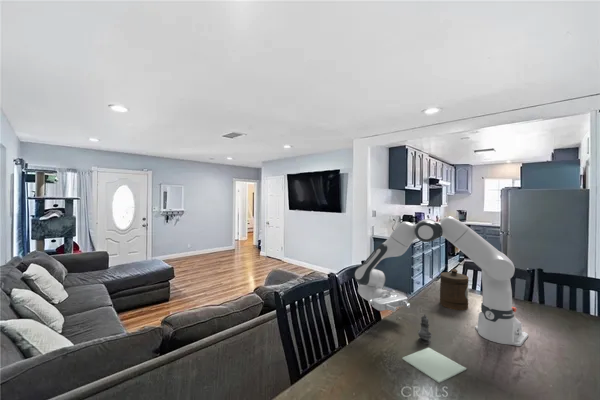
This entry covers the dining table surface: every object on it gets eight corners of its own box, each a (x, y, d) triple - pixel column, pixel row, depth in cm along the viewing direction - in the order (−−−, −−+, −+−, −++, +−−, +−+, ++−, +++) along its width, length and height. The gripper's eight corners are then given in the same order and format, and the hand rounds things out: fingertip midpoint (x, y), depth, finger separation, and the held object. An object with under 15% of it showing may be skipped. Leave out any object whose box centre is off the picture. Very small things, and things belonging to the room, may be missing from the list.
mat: (428, 348, 116) (428, 347, 116) (466, 369, 102) (466, 368, 102) (402, 358, 108) (402, 357, 108) (439, 383, 94) (439, 381, 94)
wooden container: (473, 310, 155) (474, 272, 155) (447, 310, 155) (448, 272, 155) (459, 300, 170) (459, 265, 170) (435, 300, 170) (435, 265, 170)
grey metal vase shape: (415, 337, 125) (415, 311, 125) (427, 337, 125) (427, 311, 125) (421, 344, 119) (422, 317, 119) (434, 344, 119) (434, 317, 119)
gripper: (366, 295, 140) (386, 305, 128) (395, 289, 150) (416, 298, 138) (366, 307, 140) (386, 318, 128) (395, 301, 150) (416, 310, 138)
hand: (402, 307), depth 133 cm, fingers open, 8 cm apart
